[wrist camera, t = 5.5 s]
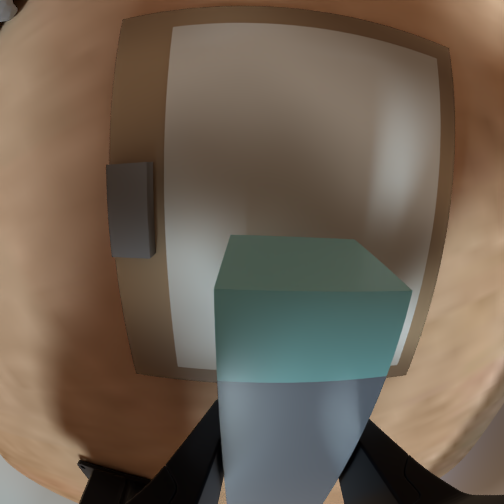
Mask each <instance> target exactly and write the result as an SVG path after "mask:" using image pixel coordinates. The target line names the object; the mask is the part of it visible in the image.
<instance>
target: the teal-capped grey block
mask: <svg viewBox="0 0 504 504" xmlns="http://www.w3.org/2000/svg"><path fill="white" fill-rule="evenodd" d="M411 296H412V290H411V289H410V288H409V287H408V286H407V285H406V284H405V283H404V282H403V281H402V280H400V279H399V278H398V277H397V276H396V275H395V274H394V273H393V272H392V271H391V270H389V269H388V268H387V267H386V266H385V265H384V264H383V263H382V262H380V261H379V260H378V259H377V258H376V257H375V256H374V255H372V254H371V253H370V252H369V251H368V250H367V249H365V248H364V247H363V246H362V245H361V244H360V243H358V242H357V241H356V240H355V239H336V238H313V237H287V236H259V235H230V238H229V241H228V244H227V247H226V251H225V254H224V257H223V260H222V263H221V267H220V270H219V273H218V276H217V280H216V283H215V286H214V318H215V345H216V367H217V386H218V403H219V418H220V432H221V445H222V457H223V469H224V479H225V489H226V499H227V504H323V502H324V501H325V499H326V497H327V496H328V494H329V493H330V491H331V489H332V488H333V486H334V485H335V483H336V481H337V479H338V478H339V476H340V474H341V473H342V471H343V469H344V467H345V465H346V464H347V462H348V460H349V458H350V456H351V454H352V452H353V451H354V449H355V447H356V445H357V443H358V441H359V439H360V437H361V435H362V433H363V430H364V428H365V426H366V424H367V422H368V420H369V417H370V415H371V413H372V411H373V408H374V406H375V404H376V401H377V399H378V397H379V394H380V392H381V389H382V387H383V384H384V381H385V379H386V376H387V373H388V371H389V368H390V365H391V362H392V360H393V357H394V354H395V351H396V348H397V345H398V342H399V338H400V335H401V332H402V329H403V325H404V322H405V318H406V315H407V311H408V307H409V303H410V299H411Z"/></svg>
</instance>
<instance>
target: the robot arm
mask: <svg viewBox="0 0 504 504" xmlns="http://www.w3.org/2000/svg"><path fill="white" fill-rule="evenodd" d="M77 465H78V466H79V468H80V469H81V470H82V472H83V473H84V474H85V475H86V477H87V478H88V479H89V480H88V482H87V485H86V487H85V490H84V492H83V495H82V497H81V500H80V502H79V504H218V500H219V496H220V491H221V486H222V482H223V477H224V469H223V457H222V445H221V432H220V418H219V403H218V399H217V400H216V401H215V402H214V403H213V405H212V406H211V407H210V409H209V410H208V411H207V413H206V414H205V415H204V417H203V418H202V419H201V421H200V422H199V423H198V424H197V426H196V427H195V428H194V430H193V431H192V432H191V433H190V435H189V436H188V437H187V439H186V440H185V441H184V442H183V444H182V445H181V446H180V447H179V449H178V450H177V451H176V452H175V454H174V455H173V456H172V457H171V458H170V460H169V461H168V462H167V463H166V466H164V467H163V468H162V469H161V470H160V472H159V473H158V474H157V475H156V476H155V477H154V478H153V479H152V481H150V480H148V479H144V478H140V477H135V476H131V475H127V474H124V473H120V472H116V471H113V470H109V469H106V468H103V467H100V466H96V465H93V464H90V463H88V462H85V461H82V460H79V462H78V464H77ZM339 482H340V486H341V491H342V495H343V500H344V504H504V495H470V494H466V493H463V492H461V491H459V490H457V489H455V488H454V487H452V486H451V485H449V484H448V483H446V482H444V481H443V480H441V479H440V478H438V477H437V476H435V475H434V474H432V473H431V472H430V471H428V470H427V469H425V468H424V467H423V466H422V465H420V464H419V463H418V462H417V461H416V460H414V459H413V458H412V457H411V456H410V455H408V454H407V453H406V452H405V451H404V450H403V449H402V448H401V447H400V446H398V445H397V444H396V443H395V442H394V441H393V440H392V439H391V438H390V437H388V436H387V435H386V434H385V433H384V432H383V431H382V430H381V429H380V428H379V427H377V426H376V425H375V424H374V423H373V422H372V421H371V420H370V419H369V420H368V422H367V424H366V426H365V428H364V430H363V433H362V435H361V437H360V439H359V441H358V443H357V445H356V447H355V449H354V451H353V452H352V454H351V456H350V458H349V460H348V462H347V464H346V465H345V467H344V469H343V471H342V473H341V474H340V476H339Z"/></svg>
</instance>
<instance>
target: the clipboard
mask: <svg viewBox="0 0 504 504" xmlns="http://www.w3.org/2000/svg"><path fill="white" fill-rule="evenodd" d="M454 154H455V107H454V89H453V77H452V68H451V59H450V52H449V48H447V47H445V46H442V45H440V44H437V43H435V42H432V41H430V40H427V39H425V38H422V37H419V36H416V35H414V34H411V33H408V32H405V31H401V30H398V29H395V28H392V27H388V26H385V25H381V24H378V23H374V22H370V21H366V20H361V19H357V18H352V17H348V16H343V15H337V14H332V13H325V12H319V11H312V10H304V9H294V8H283V7H266V6H218V7H202V8H190V9H181V10H173V11H166V12H159V13H153V14H147V15H142V16H137V17H132V18H128V19H123V20H122V26H121V31H120V37H119V43H118V49H117V56H116V64H115V72H114V81H113V92H112V105H111V121H110V165H106V177H107V204H108V220H109V232H110V243H111V253H112V257H115V261H116V269H117V276H118V283H119V290H120V297H121V303H122V309H123V314H124V320H125V325H126V330H127V335H128V340H129V344H130V349H131V353H132V358H133V362H134V366H135V370H136V373H137V374H143V375H150V376H157V377H165V378H173V379H182V380H192V381H203V382H216V383H217V367H216V345H215V318H214V286H215V283H216V280H217V276H218V273H219V270H220V267H221V263H222V260H223V257H224V254H225V251H226V247H227V244H228V241H229V238H230V235H259V236H287V237H313V238H336V239H355V240H356V241H357V242H358V243H360V244H361V245H362V246H363V247H364V248H365V249H367V250H368V251H369V252H370V253H371V254H372V255H374V256H375V257H376V258H377V259H378V260H379V261H380V262H382V263H383V264H384V265H385V266H386V267H387V268H388V269H389V270H391V271H392V272H393V273H394V274H395V275H396V276H397V277H398V278H399V279H400V280H402V281H403V282H404V283H405V284H406V285H407V286H408V287H409V288H410V289H411V290H412V296H411V299H410V303H409V307H408V311H407V315H406V318H405V322H404V325H403V329H402V332H401V335H400V338H399V342H398V345H397V348H396V351H395V354H394V357H393V360H392V362H391V365H390V368H389V371H388V373H387V376H386V378H388V377H396V376H403V375H406V374H407V371H408V369H409V366H410V364H411V361H412V358H413V356H414V353H415V350H416V347H417V345H418V342H419V339H420V336H421V333H422V330H423V327H424V324H425V321H426V317H427V314H428V311H429V307H430V304H431V300H432V296H433V293H434V289H435V285H436V281H437V277H438V272H439V268H440V263H441V259H442V254H443V249H444V243H445V238H446V232H447V226H448V219H449V212H450V204H451V195H452V185H453V172H454Z"/></svg>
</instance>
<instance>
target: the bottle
mask: <svg viewBox="0 0 504 504" xmlns="http://www.w3.org/2000/svg"><path fill="white" fill-rule="evenodd" d="M17 10H18V8H17V7H16V6H15V5H14V4H13V0H0V22H3V21H8V20H10V19H12V18H13V17H14V15H15V14H16V12H17Z"/></svg>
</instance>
